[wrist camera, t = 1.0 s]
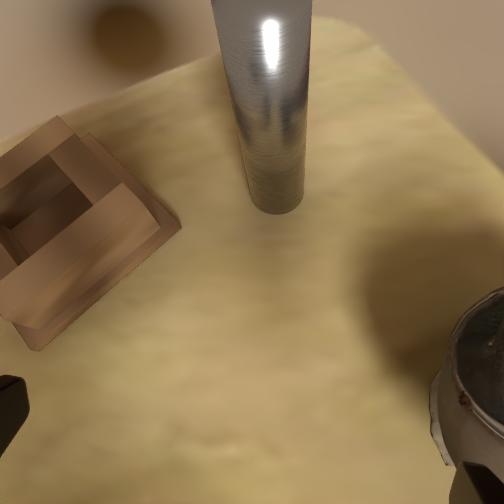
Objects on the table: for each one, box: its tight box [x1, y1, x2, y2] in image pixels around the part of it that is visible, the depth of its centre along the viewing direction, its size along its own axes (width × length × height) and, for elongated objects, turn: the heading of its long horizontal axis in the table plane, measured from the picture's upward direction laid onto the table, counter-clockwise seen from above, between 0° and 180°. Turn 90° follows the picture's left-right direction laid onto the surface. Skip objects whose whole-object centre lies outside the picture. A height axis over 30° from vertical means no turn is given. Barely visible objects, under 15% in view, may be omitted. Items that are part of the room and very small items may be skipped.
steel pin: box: [211, 0, 312, 215], centre depth 19 cm, size 3×3×13 cm
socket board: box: [0, 116, 182, 351], centre depth 24 cm, size 11×10×4 cm
